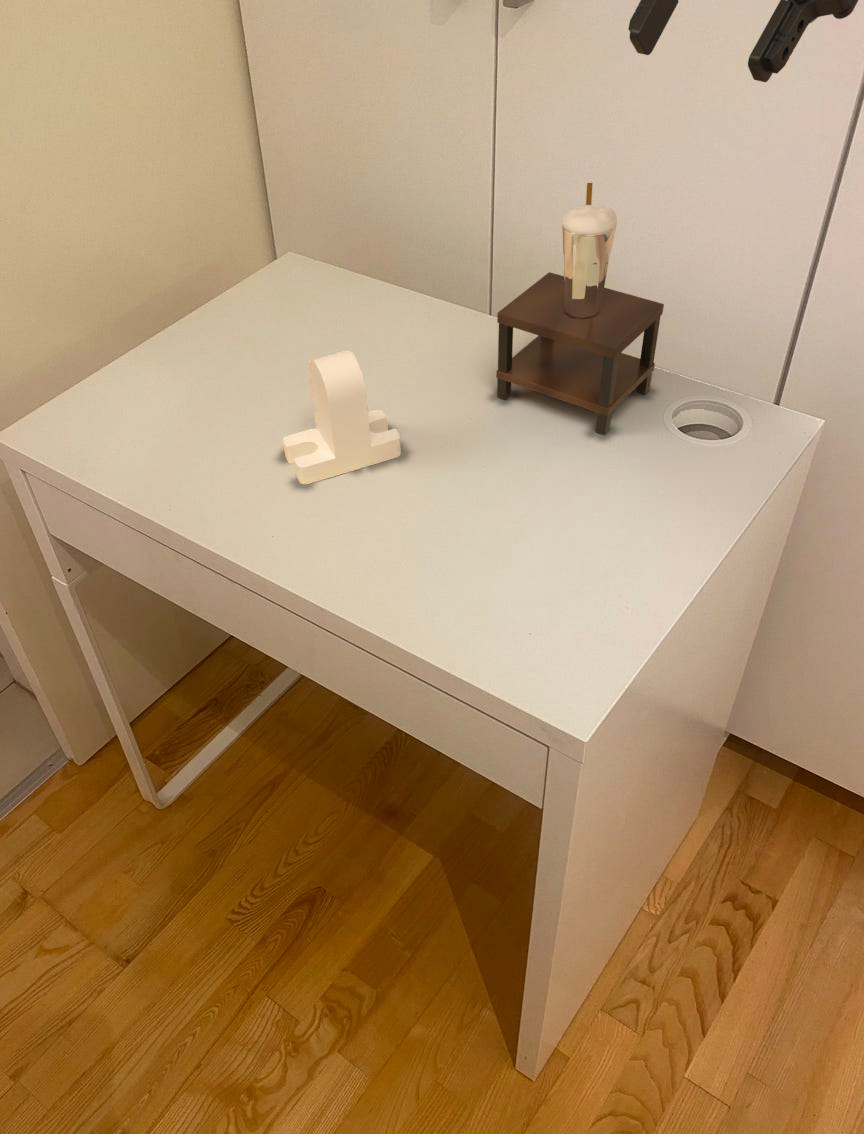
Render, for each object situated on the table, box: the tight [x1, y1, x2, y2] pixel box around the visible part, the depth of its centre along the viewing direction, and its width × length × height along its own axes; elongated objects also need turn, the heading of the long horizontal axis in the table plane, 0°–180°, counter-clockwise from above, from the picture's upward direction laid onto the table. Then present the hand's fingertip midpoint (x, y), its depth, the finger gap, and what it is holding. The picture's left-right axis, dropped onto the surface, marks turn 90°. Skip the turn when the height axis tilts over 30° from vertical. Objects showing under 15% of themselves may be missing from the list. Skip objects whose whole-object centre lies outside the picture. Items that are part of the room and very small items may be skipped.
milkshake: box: [561, 182, 618, 318], centre depth 86 cm, size 5×5×10 cm
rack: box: [495, 271, 665, 436], centre depth 93 cm, size 12×9×9 cm
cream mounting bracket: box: [282, 349, 402, 485], centre depth 88 cm, size 5×10×10 cm, turn 112°
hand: (695, 60), depth 61 cm, fingers open, 8 cm apart
